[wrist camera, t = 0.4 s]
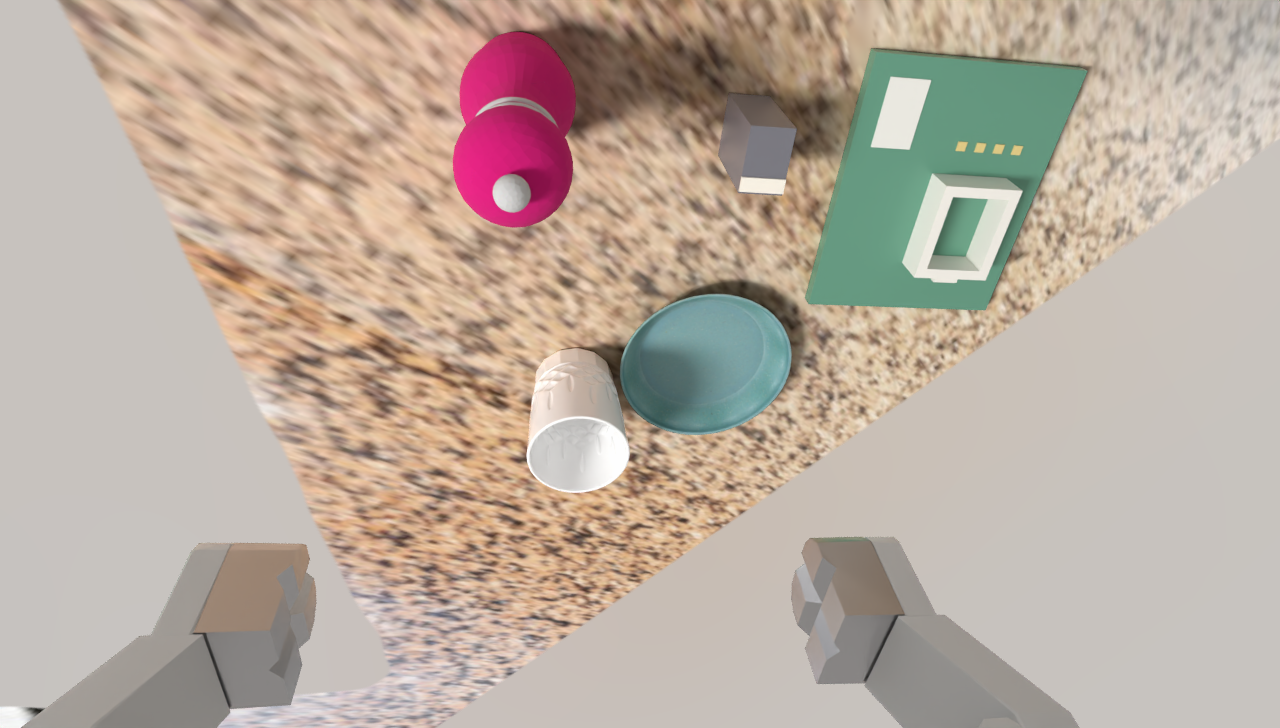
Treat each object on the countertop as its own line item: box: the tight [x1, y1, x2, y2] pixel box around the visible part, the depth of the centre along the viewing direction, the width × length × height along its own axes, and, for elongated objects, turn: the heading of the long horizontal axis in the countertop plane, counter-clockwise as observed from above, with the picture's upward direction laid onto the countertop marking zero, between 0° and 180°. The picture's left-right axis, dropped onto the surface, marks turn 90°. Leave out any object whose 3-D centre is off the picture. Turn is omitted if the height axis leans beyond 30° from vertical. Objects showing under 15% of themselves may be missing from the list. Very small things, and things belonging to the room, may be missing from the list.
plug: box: [718, 93, 797, 196], centre depth 52 cm, size 4×3×7 cm, turn 174°
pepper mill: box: [453, 32, 576, 227], centre depth 43 cm, size 7×7×20 cm
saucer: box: [620, 294, 792, 435], centre depth 65 cm, size 15×15×3 cm
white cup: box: [527, 348, 630, 493], centre depth 62 cm, size 8×8×10 cm
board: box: [805, 48, 1087, 310], centre depth 58 cm, size 20×16×4 cm
